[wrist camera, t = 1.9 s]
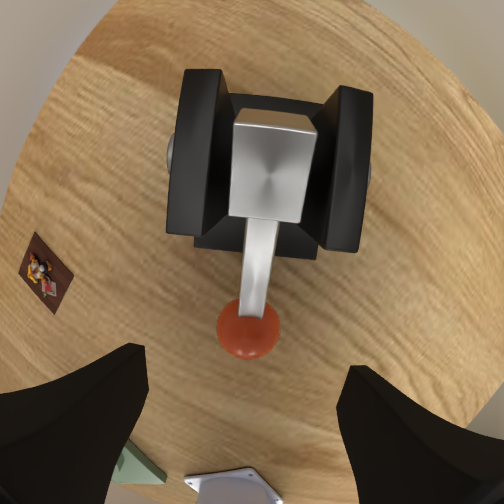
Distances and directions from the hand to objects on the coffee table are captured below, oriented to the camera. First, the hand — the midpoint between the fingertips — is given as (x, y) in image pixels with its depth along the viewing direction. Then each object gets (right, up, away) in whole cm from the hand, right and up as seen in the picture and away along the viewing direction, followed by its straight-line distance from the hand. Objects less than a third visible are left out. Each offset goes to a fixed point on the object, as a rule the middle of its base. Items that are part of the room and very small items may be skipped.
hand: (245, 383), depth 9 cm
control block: (-15, -17, +13) cm, 26 cm away
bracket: (+1, +9, +7) cm, 11 cm away
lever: (0, +5, +3) cm, 6 cm away
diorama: (-16, +3, +9) cm, 19 cm away
